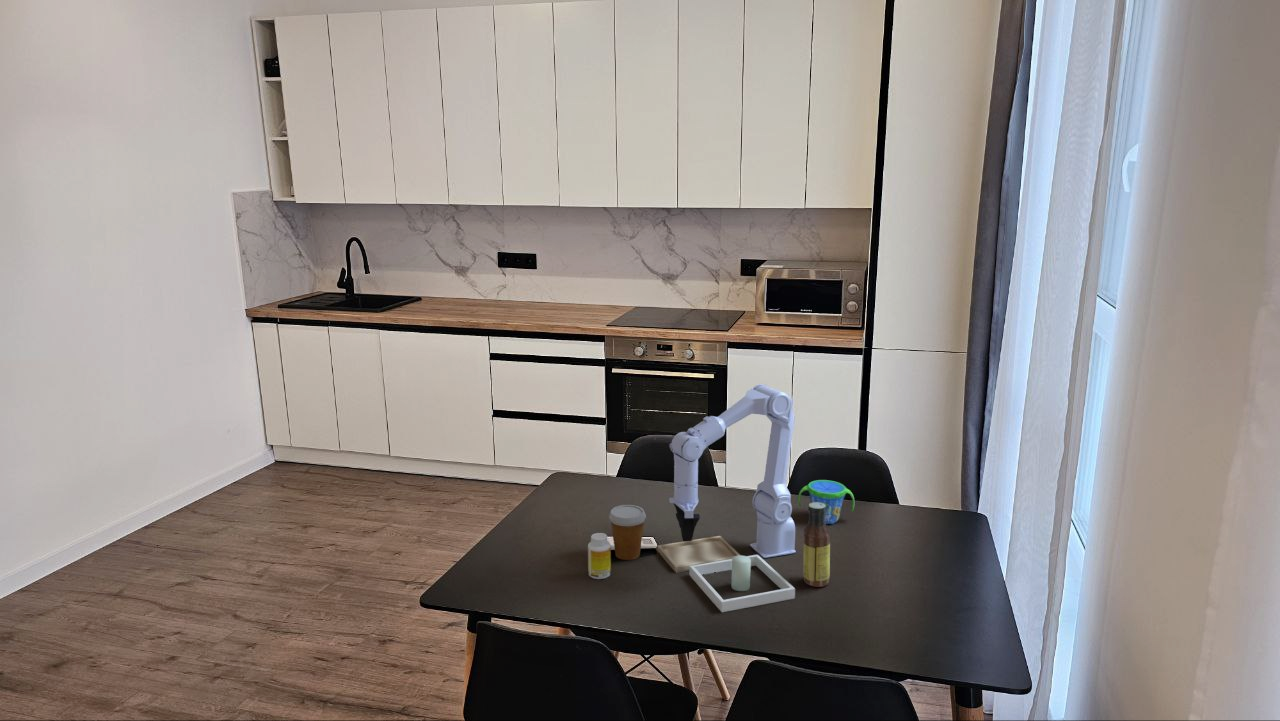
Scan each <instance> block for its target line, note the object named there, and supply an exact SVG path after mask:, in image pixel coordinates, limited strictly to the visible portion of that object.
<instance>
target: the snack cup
mask: <svg viewBox="0 0 1280 721" xmlns="http://www.w3.org/2000/svg"><path fill="white" fill-rule="evenodd" d="M806 491H808V492H809V504H810V503H813V502H819V503H823V504H825V506H826V511H825V524H826V525H834V524H835V523H837V522H838V521H839V519H840V515H841V512H842V508H843V503H844V499H845V497H846V494H849V495H850V497H851V500H852V501H851V502H852V503H851V508H850V511H851V512H854V509H855V505H856V504H855V503H856V502H855V497H854V494H853V492H852V491H851V490H850V489H848V488H847V487H846V486H845V485H844V484H843V483H841V482H838V481H834V480H827V479H818V480H817V479H816V480H813V481H810V482H809V483H808V484H807V485H805V486H803V487H802V488H801V489H800V491H799V493H798V496H797V501H798V508H801V507H802V506H801V499H802V493H804V492H806Z"/></svg>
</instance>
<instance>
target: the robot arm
mask: <svg viewBox="0 0 1280 721" xmlns="http://www.w3.org/2000/svg"><path fill="white" fill-rule="evenodd" d="M793 404H794V400H793V399H792V398H791V397H790V396H789V395H788V394H787V393H786V392H784V391H780V390H777V389H775V388H772V387H769V386H767V385H766V384H763V383H761V384H760V383H759V384H757V385H755V386H754V387H753V388H751V389H749V390H747V391H746V393H745V396H743V397H742V398H741V399H739V400H738V401H736V402H735V403H734V404H732V405H731V406H730V407H729V408H727V409H726V410H725V411H723V412H722V413H721V414H719V415H718V416H714V415H709V416H705V417H703V418H702V421H700V422H699V423H697V424H695V426H693V427H689V428H688V429H687V431H681V432H678V433H677V434H675V435H674V437H672V440H671V443H669V449H670V451H671V452H672V453H673V461H674V466H673V468H674V470H673V472H674V473H673V474H674V475H673V476H674V478H673V482H674V483H673V485H674V486H673V490H674V491H673V497H669V498H668V501H669V504H673V505H674V508H675V511H676V513H675V516H676V519H677V521H678V526H679V529H680V532H681V539H682V542H683V541H692V540H693V538H694V533H695V529H696V526H697V524H698V522H699V521H700V518H701V517H700V514H699V513H694V511H695V509H696V508H697V507H696V506H698V504H699V493H698V492H699V483H698V482H699V459H700V458H701V456H702V455H703V453H704V451H705V450H706V448H707V447H709V446H710V445H712V444H713V443H715V442H716V441H718V440H720V439H721V438H722V437H724V436H725V434H726V433H725V432H726V429H727V428H729V427H731V426H733V425H734V424H736V423H738V422H740V421H742V420H743V419H745V418H747V417H748V416H750V415H753V414H754V415H762V416H766V417H767V419H769V421H770V422H771V426H770V427H771V428H770V435H769V441H768V449H767V455H766V461H765V462H766V464H765V471H764V476H763V481H761V482H760V483H758V484H757V487H756V491H755V493H754V495H753V497H752V500H751V502H752V507H753V509H754V510H756V517H757V518H756V520H757V522H756V523H757V524H756V542H754V543H750V545H749V546H750V547H751V548H752V549H753V550H754V551H755V552H756V553H757V554H758V555H759V556H760V557H761V558H762V559H767V558H773V557H778V556H779V557H780V556H784V555H791V554H796V551H797V550H795V545H796V544H795V543H796V524H795V521H794V520H793V518H792V516H791V515H792V511H793V506H792V502H791V498H792V495H791V493H790V490H789V489H788V487H787V485H786V482H787V475H788V468H789V467H788V466H789V461H790V452H791V445H792V440H793V439H792V438H793V431H794V426H795V425H794V424H795V413H794V411H793V410H794V409H793Z"/></svg>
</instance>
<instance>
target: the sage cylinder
mask: <svg viewBox="0 0 1280 721" xmlns="http://www.w3.org/2000/svg"><path fill="white" fill-rule="evenodd" d="M747 556H748V555H747ZM747 556H746V555H741V556H735V557H733V558H732V570H731V589H732V590H734V591H737V592H745V591H749V590H750V589H751V568H752V566H751V559H750V558H749V557H747Z"/></svg>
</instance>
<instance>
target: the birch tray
mask: <svg viewBox="0 0 1280 721" xmlns="http://www.w3.org/2000/svg"><path fill="white" fill-rule="evenodd" d="M656 547H657V549H656V550H657V552H658V554H659V553H660V554H659V555H660V556H661V557H662V559H663V560H665V562H666V563H667V564H668V566H669V567H670V568H671V569H672V570H673V571H674V573H675V572H676V573H675V574H679V573H684V572H690V566H692V565H698V564H704V563H710V562H716V561H722V560H728V559H732V558H733V557H735V556H742V555H741V553H739V551H737V550H736V549H735V548H734V547H733V546H731V544H730V543H728V541H726V540H725V539H724V537H722V536H721V535H716V536H710V537H703V538H697V539H692V541H683V540H682V541H678V542H672V543H667V544H666V543H665V544H659V545H658V544H657V546H656Z"/></svg>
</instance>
